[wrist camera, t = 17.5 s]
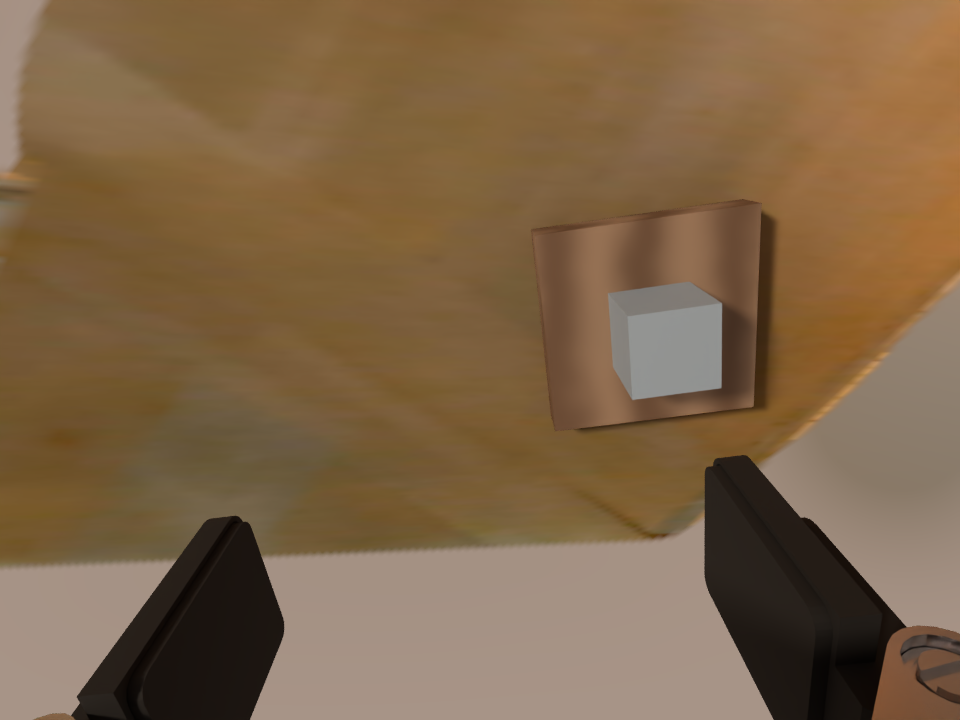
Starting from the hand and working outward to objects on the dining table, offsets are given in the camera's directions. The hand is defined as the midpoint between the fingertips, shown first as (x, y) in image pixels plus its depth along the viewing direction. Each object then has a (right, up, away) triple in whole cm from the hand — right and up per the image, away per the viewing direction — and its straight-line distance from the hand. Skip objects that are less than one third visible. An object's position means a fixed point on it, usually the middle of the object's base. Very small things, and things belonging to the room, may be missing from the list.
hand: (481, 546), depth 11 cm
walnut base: (+13, +7, +34) cm, 37 cm away
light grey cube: (+13, +6, +31) cm, 34 cm away
